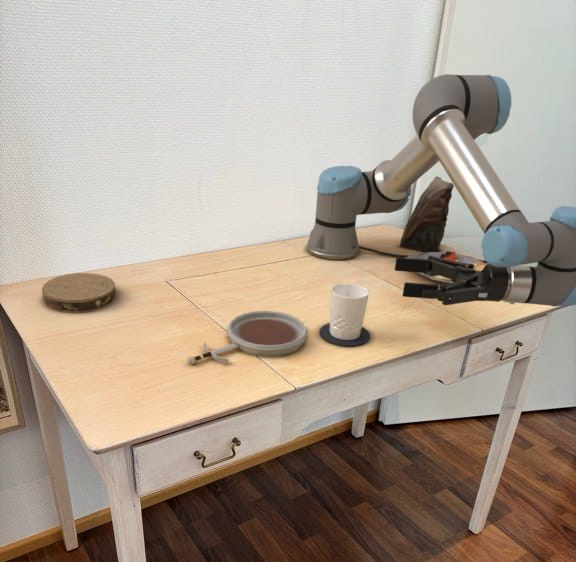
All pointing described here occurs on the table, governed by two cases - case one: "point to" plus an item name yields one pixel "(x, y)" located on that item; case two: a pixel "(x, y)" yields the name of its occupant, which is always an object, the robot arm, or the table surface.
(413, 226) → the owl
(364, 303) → the white cup
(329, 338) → the coaster
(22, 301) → the table surface
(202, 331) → the table surface
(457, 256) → the food plate
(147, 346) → the table surface
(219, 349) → the frying pan
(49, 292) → the tin can
